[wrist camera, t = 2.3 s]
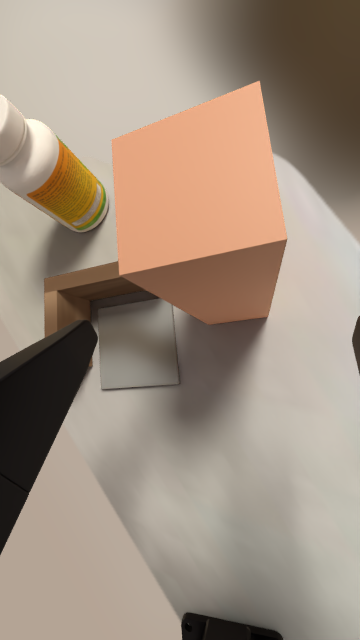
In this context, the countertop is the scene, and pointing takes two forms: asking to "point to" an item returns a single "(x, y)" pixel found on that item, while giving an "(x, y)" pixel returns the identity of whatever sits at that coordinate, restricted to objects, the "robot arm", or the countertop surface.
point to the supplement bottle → (48, 172)
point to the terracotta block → (202, 209)
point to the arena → (117, 326)
